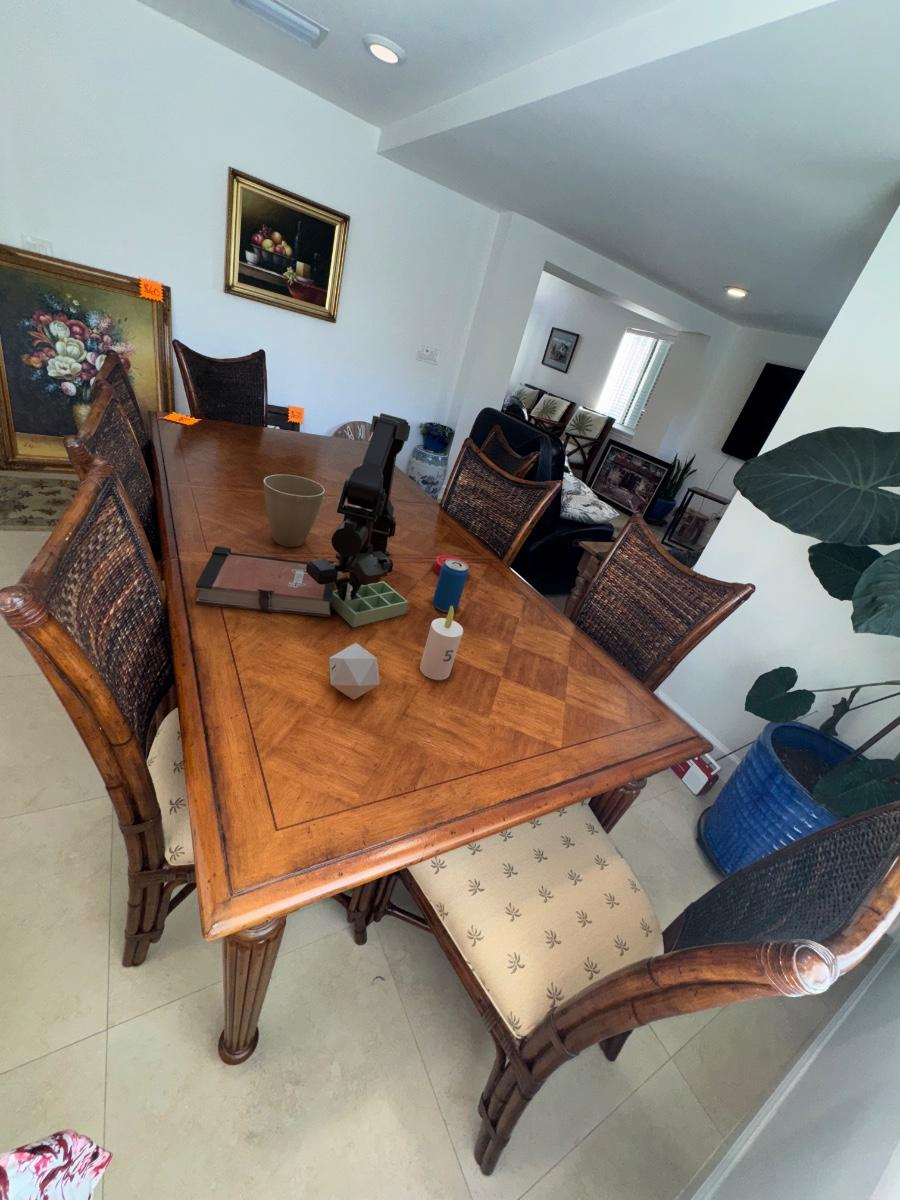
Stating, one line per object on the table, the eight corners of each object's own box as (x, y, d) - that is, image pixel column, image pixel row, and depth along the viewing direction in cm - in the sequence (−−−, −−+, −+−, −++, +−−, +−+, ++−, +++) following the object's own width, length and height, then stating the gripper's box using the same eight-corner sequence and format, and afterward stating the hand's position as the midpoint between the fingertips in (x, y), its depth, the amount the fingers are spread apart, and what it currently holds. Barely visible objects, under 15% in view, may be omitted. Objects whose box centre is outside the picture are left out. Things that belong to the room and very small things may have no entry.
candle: (426, 682, 93) (444, 618, 86) (415, 660, 98) (431, 598, 91) (455, 679, 96) (475, 617, 89) (443, 659, 101) (461, 598, 94)
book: (195, 606, 96) (194, 584, 94) (215, 565, 111) (215, 546, 108) (329, 618, 103) (332, 599, 101) (331, 579, 118) (334, 561, 115)
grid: (328, 604, 109) (330, 591, 107) (381, 593, 118) (383, 581, 117) (352, 627, 103) (355, 614, 101) (405, 613, 113) (408, 601, 111)
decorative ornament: (431, 562, 141) (433, 552, 139) (462, 566, 144) (465, 557, 142) (436, 578, 133) (439, 567, 131) (469, 582, 136) (472, 572, 134)
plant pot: (274, 556, 121) (279, 496, 113) (250, 531, 129) (253, 474, 122) (328, 551, 131) (335, 495, 123) (302, 527, 139) (308, 474, 132)
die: (340, 668, 92) (317, 643, 84) (385, 656, 91) (366, 630, 83) (342, 710, 87) (319, 688, 79) (390, 697, 86) (371, 674, 78)
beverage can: (460, 606, 123) (472, 564, 117) (452, 616, 117) (464, 573, 111) (437, 597, 124) (448, 555, 118) (428, 607, 118) (439, 564, 112)
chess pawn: (353, 601, 110) (356, 582, 107) (351, 608, 107) (354, 589, 105) (340, 599, 109) (343, 580, 107) (338, 605, 107) (341, 586, 104)
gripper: (338, 560, 90) (328, 628, 97) (414, 549, 102) (400, 610, 110) (308, 534, 96) (301, 600, 103) (384, 526, 108) (372, 586, 116)
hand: (346, 599), depth 108 cm, fingers closed on chess pawn, 2 cm apart
